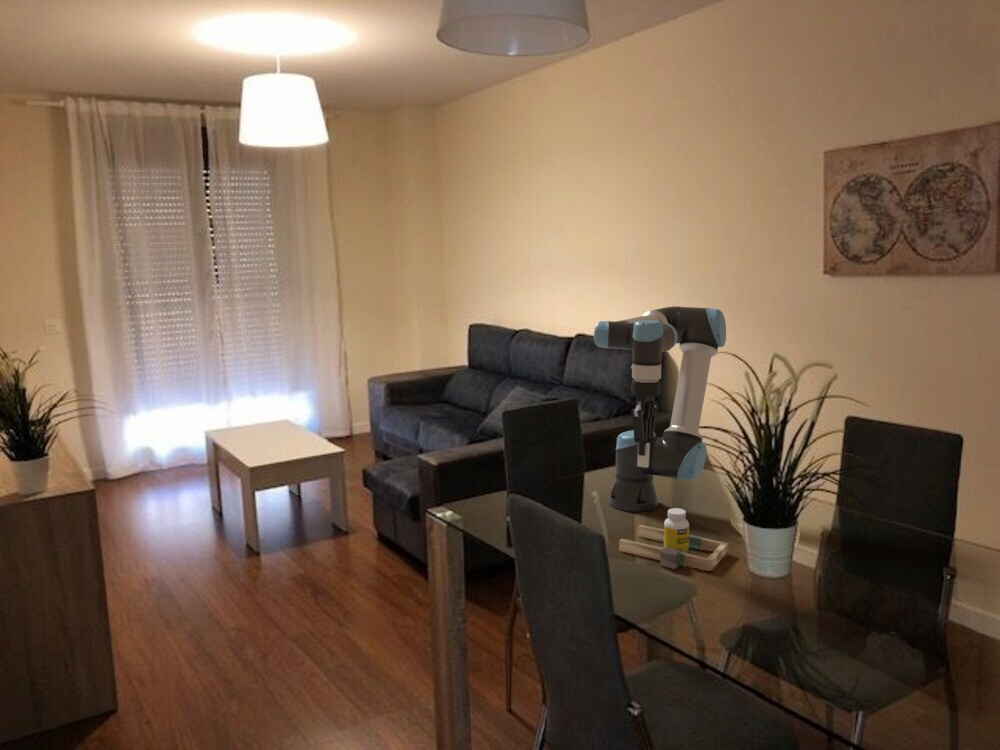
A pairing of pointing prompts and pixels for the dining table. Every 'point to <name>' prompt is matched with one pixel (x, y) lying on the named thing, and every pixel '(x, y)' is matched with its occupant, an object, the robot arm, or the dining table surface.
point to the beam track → (674, 556)
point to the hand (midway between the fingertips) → (643, 466)
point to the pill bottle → (676, 530)
